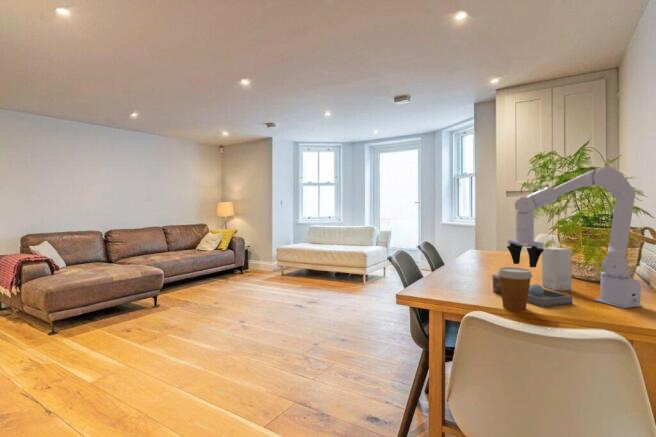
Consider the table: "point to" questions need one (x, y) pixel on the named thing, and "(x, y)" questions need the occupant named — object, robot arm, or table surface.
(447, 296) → the table surface
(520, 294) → the disposable coffee cup
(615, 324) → the table surface
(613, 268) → the robot arm
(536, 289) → the ball
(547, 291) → the tray
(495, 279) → the shaker
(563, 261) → the skincare box
